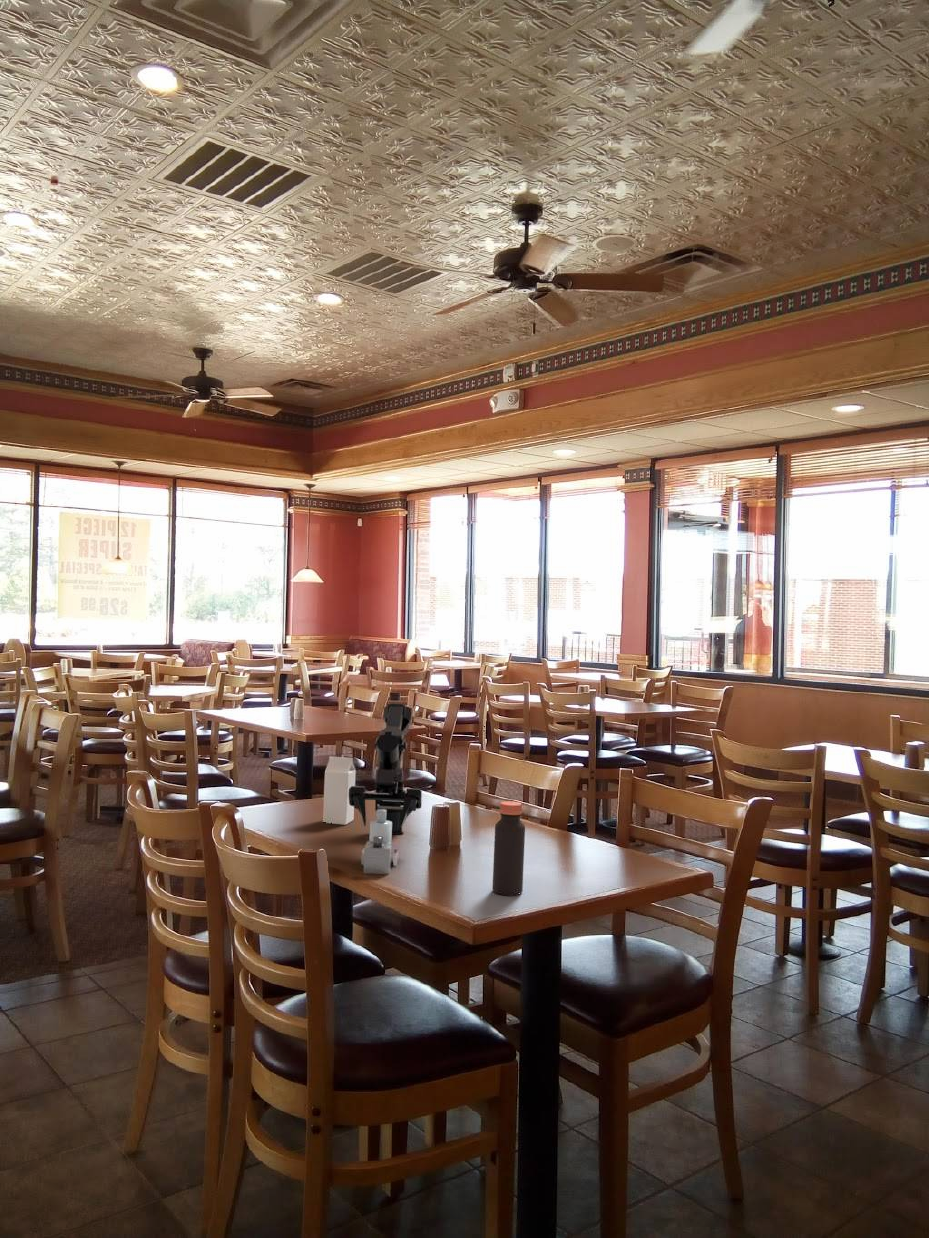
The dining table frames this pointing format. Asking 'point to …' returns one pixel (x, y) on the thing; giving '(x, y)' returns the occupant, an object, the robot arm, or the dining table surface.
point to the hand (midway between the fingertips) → (382, 825)
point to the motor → (378, 856)
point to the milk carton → (338, 790)
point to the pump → (381, 826)
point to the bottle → (509, 850)
